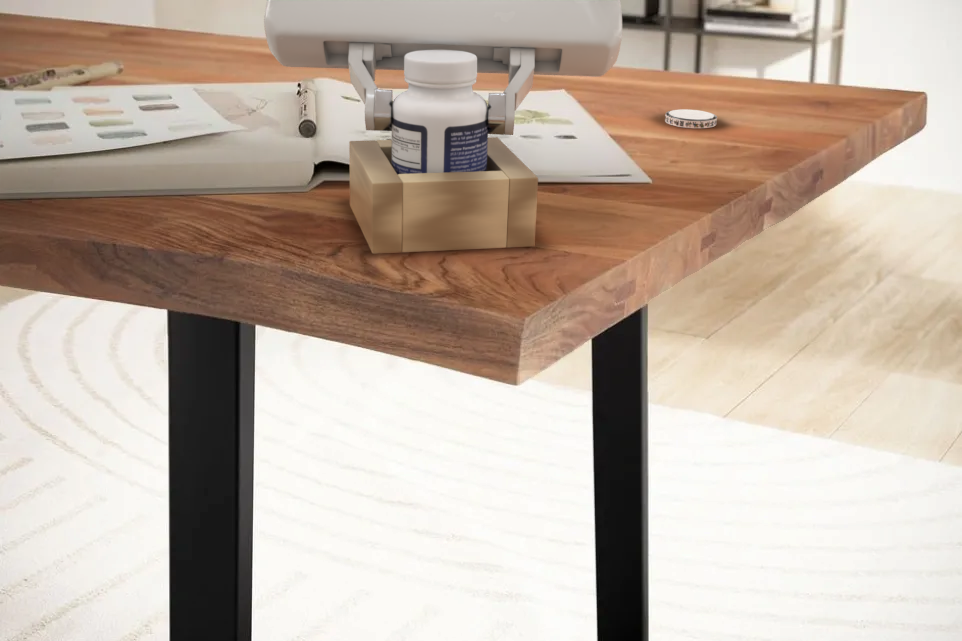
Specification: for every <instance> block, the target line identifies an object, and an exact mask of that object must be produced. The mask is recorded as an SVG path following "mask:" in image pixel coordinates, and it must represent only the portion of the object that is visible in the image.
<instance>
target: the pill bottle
mask: <svg viewBox="0 0 962 641" xmlns="http://www.w3.org/2000/svg"><path fill="white" fill-rule="evenodd" d="M403 76H404V78H403V79H404V82H405V83H407V86H408V89H407V90H405V91H402V92H400V93H399V94H397V96H395V99H393V104H392V131H391V140H392V167H393V168H394V170H395V172H396V173H397V175H398V174H414V173H446V172H478V171H487V143H488V137H489V134H488V102H487V101H486V99H485V98H484V97H483V96H481V95H480V94H479V93H477V92H475V91H474V90H473V85H475V84H477V77H478V73H477V57H476V55H474V54H472V53H469V52H464V51H457V50H420V51H414V52H410V53H407V54H406V55H405V57H404V70H403Z"/></svg>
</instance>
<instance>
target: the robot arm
mask: <svg viewBox="0 0 962 641" xmlns="http://www.w3.org/2000/svg"><path fill="white" fill-rule="evenodd" d="M622 13H623V12H622V3H621V0H266V4H265V9H264V15H263V26H264V33H265V40H266V43H267V46H268V49H269V52H270V54H271V55H272V56H273V57H274V58H275V59H276V61H277V62H278V63H279V64H280V65H281V66H283V67H286V68H287V67H288V68H308V69H309V68H312V69H313V68H314V69H315V68H316V69H344V70H345V69H346V70H348V71H349V72H348V73H349V80H350V83H351V85H352V87H353V88H354V90H355V91H356V93H357V95H358V96H359V98H360V99H361V101H362V103H363V104H364V124H365V131H371V132H373V131H374V132H375V131H377V132H378V131H380V132H392V104H393V101H394V93H393V90H392V89H380V88H378V86H377V84H376V82H375V81H376V70H378V71H404V57H405V55H406V54H407V53H410V52H414V51H420V50H457V51H464V52H469V53H472V54H474V55H476V57H477V74H501V75H507V77H508V78H507V80H508V82H507V86H506V88H505V89H504V91H503V92H488V97H487V106H488V135H500V136H514V131H515V130H514V129H515V118H516V117H515V116H516V111H517V109H518V108H519V107H520V105H521V103H523V101H524V100H525V98H526V97H527V96H528V94H529V93H530V91H531V90H532V89H533V84H534V76H561V77H562V76H564V77H565V76H566V77H591V78H592V77H593V78H598V77H599V78H600V77H603V76H605V75H606V74H607V73H608V72H609V71H610V70H611V69H613V66H615V64H616V63H617V61H618V58H619V54H620V51H621V44H622V39H623V15H622Z"/></svg>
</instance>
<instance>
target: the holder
mask: <svg viewBox="0 0 962 641" xmlns="http://www.w3.org/2000/svg"><path fill="white" fill-rule="evenodd" d="M348 144H349V145H348V146H349V147H348V149H349V150H348V151H349V152H348V153H349V154H348V156H349V159H348V160H349V164H348V165H349V206H350V209H351V210H352V213H353V216H354V217H355V219H356V221H357V223H358V226H359V228H360V230H361V232H362V234H363V236H364V237H363V238H364V239H365V241H366V243H367V245H368V248H369V249H370V252H371V254H393V253H394V254H395V253H415V252H437V251H438V252H439V251H458V250H459V251H461V250H480V249H481V250H482V249H502V248H504V249H505V248H525V247H526V248H527V247H535V246H536V245H535V244H536V242H535V241H536V225H537V207H538V206H537V205H538V190H539V188H538V187H539V177H538V175H536V174H535V173H534V172H533V171H532V170H531V169H530V168H529V167H528V166H527V165H526V164H525V163H524V162H523V161H522V160H521V159H520V158H519V157H518V156H517V155H516V154H515V153H514V152H513V150H511V149H510V148H509V147H508V146H507V145H506V144H505V143H504V142H503V141H502V140H501V139H500V138H499V137H497V136H495V137H494V136H493V137H492V136H491V137H489V136H488V143H487V171H478V172H446V173H414V174H398V175H397V173H396V172H395V170H394V168H393V167H392V139H377V140H373V139H372V140H350V141H349V143H348Z"/></svg>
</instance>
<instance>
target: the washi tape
mask: <svg viewBox="0 0 962 641" xmlns="http://www.w3.org/2000/svg"><path fill="white" fill-rule="evenodd" d="M664 116H665V118H664V122H665V123H666V124H667V125H670V126H674V127H678V128H684V129H685V128H686V129H710V128H713V127H715V126H717V121H718V116H717V115H716V114H714V113H712V112H708V111H705V110H699V109H689V108H688V109H687V108H685V109H682V108H681V109H672V110H669V111H666V112H665V115H664Z"/></svg>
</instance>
